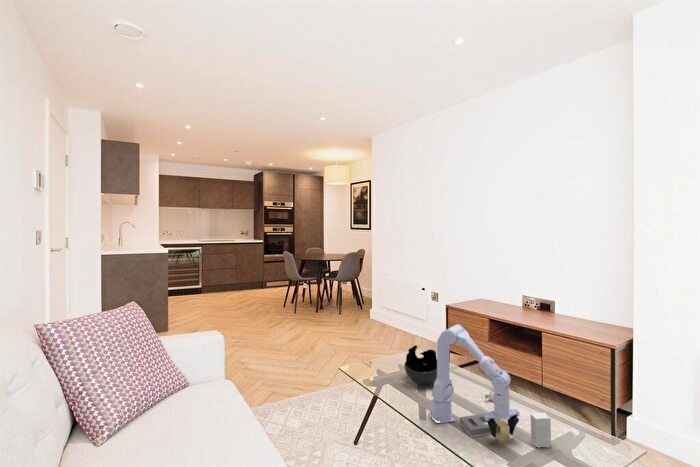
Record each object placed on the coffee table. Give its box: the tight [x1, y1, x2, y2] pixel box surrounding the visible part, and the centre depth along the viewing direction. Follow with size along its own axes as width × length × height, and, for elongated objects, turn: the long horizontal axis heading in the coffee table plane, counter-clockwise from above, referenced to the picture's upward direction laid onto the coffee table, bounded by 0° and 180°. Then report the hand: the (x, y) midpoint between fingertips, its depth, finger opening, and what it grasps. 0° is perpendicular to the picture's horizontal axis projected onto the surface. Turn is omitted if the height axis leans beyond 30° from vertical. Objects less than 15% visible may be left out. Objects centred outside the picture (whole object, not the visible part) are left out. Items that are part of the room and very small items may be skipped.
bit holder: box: [459, 412, 502, 438], centre depth 159 cm, size 16×10×3 cm, turn 100°
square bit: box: [494, 420, 511, 445], centre depth 150 cm, size 4×4×7 cm
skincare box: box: [530, 412, 552, 448], centre depth 146 cm, size 6×4×12 cm
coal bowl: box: [403, 345, 437, 386], centre depth 203 cm, size 20×20×19 cm
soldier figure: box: [484, 388, 511, 403], centre depth 181 cm, size 8×5×12 cm
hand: (502, 434), depth 150 cm, fingers open, 7 cm apart
